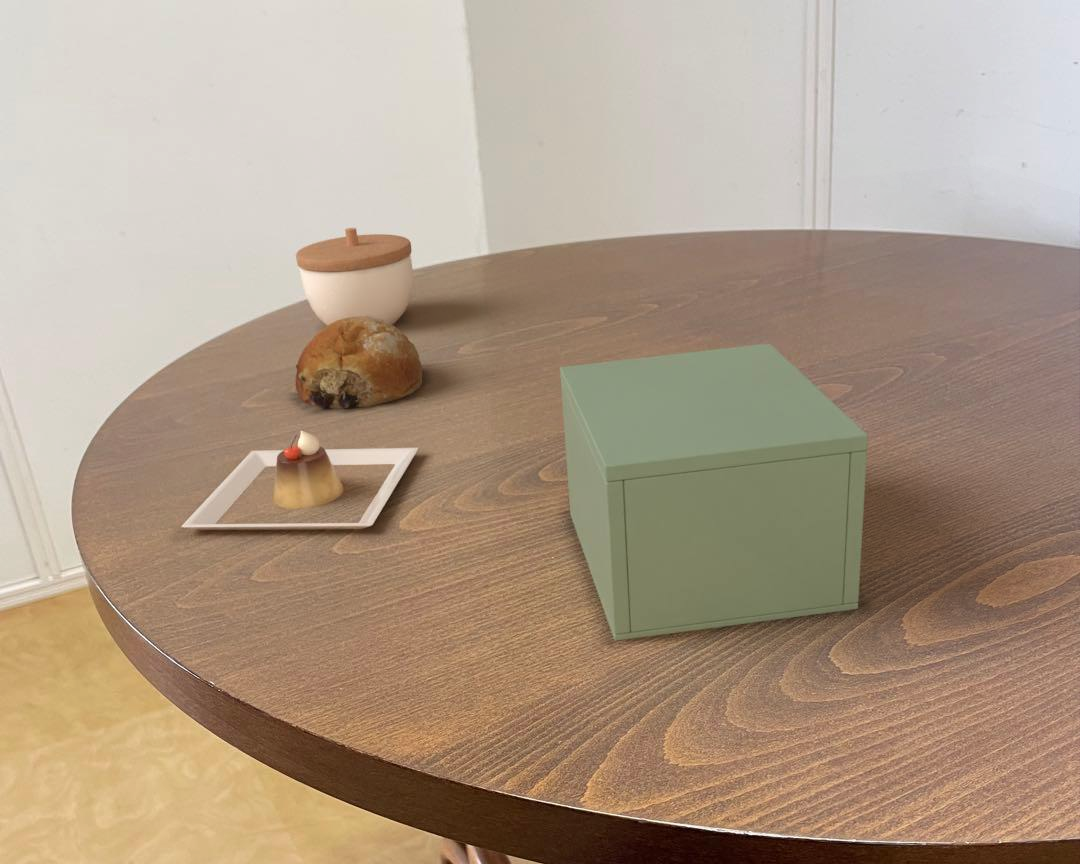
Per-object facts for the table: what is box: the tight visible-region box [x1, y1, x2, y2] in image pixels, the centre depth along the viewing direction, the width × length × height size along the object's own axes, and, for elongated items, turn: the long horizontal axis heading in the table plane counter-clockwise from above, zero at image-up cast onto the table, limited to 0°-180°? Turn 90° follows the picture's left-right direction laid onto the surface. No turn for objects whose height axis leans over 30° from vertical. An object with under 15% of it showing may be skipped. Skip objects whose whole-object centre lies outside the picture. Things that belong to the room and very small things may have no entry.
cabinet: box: [559, 342, 869, 641], centre depth 59 cm, size 15×12×10 cm
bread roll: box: [295, 316, 423, 410], centre depth 90 cm, size 10×10×8 cm
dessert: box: [181, 430, 419, 531], centre depth 72 cm, size 12×12×5 cm
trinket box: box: [295, 227, 414, 326], centre depth 107 cm, size 11×11×9 cm
